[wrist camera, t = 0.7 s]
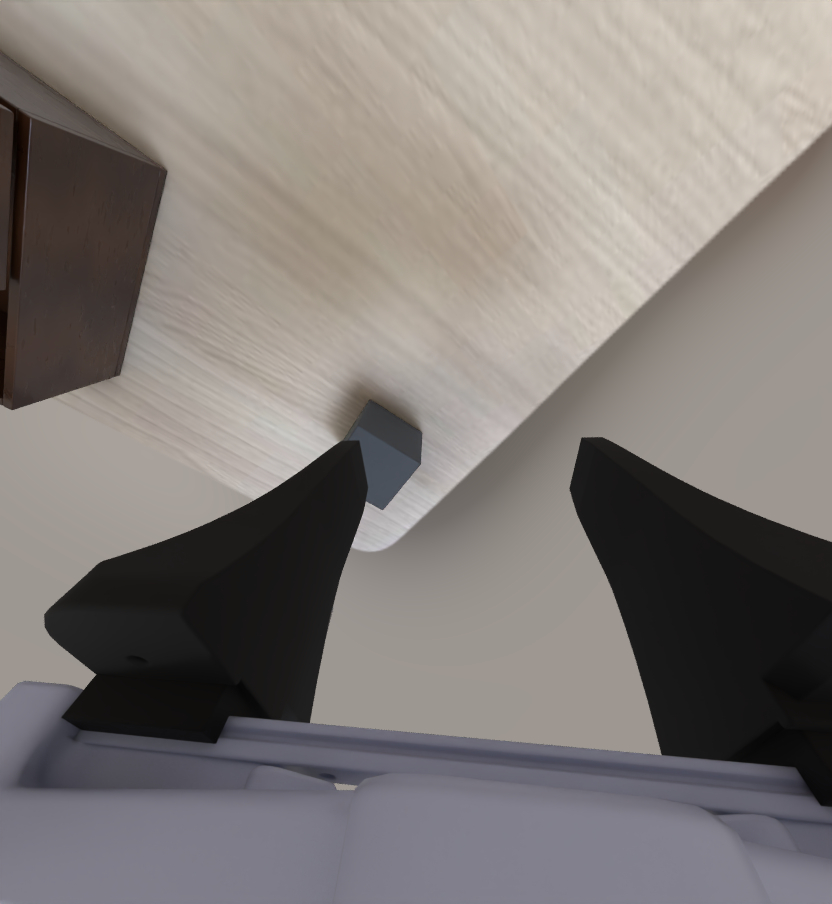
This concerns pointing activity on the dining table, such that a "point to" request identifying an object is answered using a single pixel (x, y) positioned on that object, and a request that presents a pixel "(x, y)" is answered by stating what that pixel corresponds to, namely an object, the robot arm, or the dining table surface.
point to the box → (66, 241)
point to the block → (385, 451)
